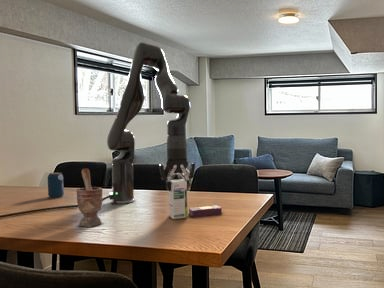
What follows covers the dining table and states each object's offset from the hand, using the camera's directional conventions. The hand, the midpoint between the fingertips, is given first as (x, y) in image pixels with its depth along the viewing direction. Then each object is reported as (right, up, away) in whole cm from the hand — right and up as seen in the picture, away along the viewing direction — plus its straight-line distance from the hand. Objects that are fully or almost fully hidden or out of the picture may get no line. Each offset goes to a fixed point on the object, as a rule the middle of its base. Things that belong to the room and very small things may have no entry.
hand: (177, 190), depth 149 cm
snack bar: (+10, -10, +5) cm, 15 cm away
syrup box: (0, -11, +1) cm, 11 cm away
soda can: (-70, -9, +43) cm, 82 cm away
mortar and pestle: (-31, -11, -8) cm, 34 cm away
